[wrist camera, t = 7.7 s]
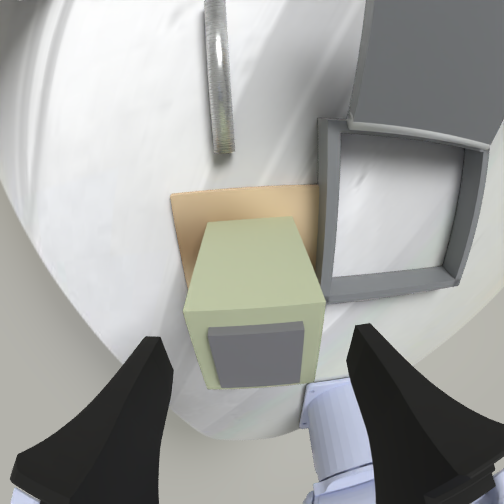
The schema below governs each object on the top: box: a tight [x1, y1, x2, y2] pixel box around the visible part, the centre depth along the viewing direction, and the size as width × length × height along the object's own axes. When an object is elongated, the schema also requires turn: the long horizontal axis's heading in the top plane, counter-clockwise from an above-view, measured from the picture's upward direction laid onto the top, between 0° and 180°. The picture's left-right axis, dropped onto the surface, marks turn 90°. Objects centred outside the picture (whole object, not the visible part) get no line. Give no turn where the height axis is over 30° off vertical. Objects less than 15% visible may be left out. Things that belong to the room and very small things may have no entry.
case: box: [315, 118, 490, 304], centre depth 14 cm, size 10×11×2 cm
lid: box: [347, 0, 504, 150], centre depth 7 cm, size 8×9×7 cm
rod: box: [204, 0, 235, 154], centre depth 11 cm, size 8×1×1 cm, turn 3°
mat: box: [170, 184, 319, 290], centre depth 16 cm, size 8×8×1 cm
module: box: [183, 216, 326, 389], centre depth 12 cm, size 4×4×7 cm
